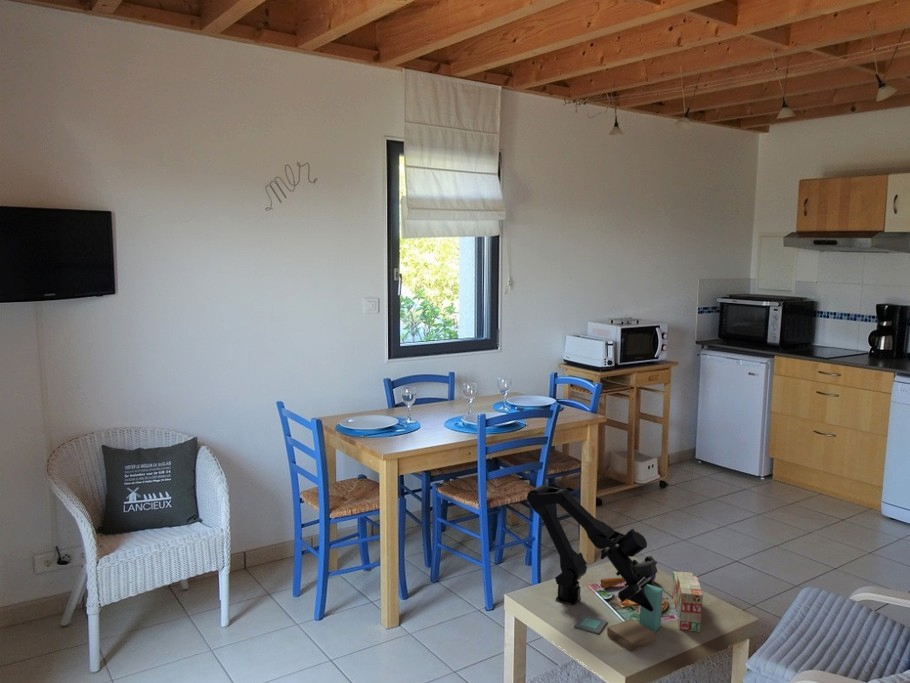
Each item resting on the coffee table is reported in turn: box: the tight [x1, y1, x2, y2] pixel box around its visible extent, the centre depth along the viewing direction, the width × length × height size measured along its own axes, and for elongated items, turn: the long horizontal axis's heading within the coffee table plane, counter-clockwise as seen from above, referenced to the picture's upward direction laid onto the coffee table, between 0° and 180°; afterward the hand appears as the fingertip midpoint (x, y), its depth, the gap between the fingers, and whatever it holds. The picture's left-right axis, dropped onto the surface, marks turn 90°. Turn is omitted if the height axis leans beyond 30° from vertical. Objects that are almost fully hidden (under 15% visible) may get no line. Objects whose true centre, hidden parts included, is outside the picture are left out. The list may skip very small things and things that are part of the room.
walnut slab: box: [606, 618, 657, 652], centre depth 216 cm, size 10×10×3 cm
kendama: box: [600, 573, 657, 589], centre depth 250 cm, size 6×6×20 cm
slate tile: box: [573, 614, 608, 635], centre depth 224 cm, size 8×8×1 cm
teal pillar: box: [638, 584, 664, 633], centre depth 223 cm, size 5×5×12 cm
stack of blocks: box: [672, 570, 704, 632], centre depth 231 cm, size 21×6×12 cm, turn 170°
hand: (655, 607), depth 222 cm, fingers closed on teal pillar, 5 cm apart
